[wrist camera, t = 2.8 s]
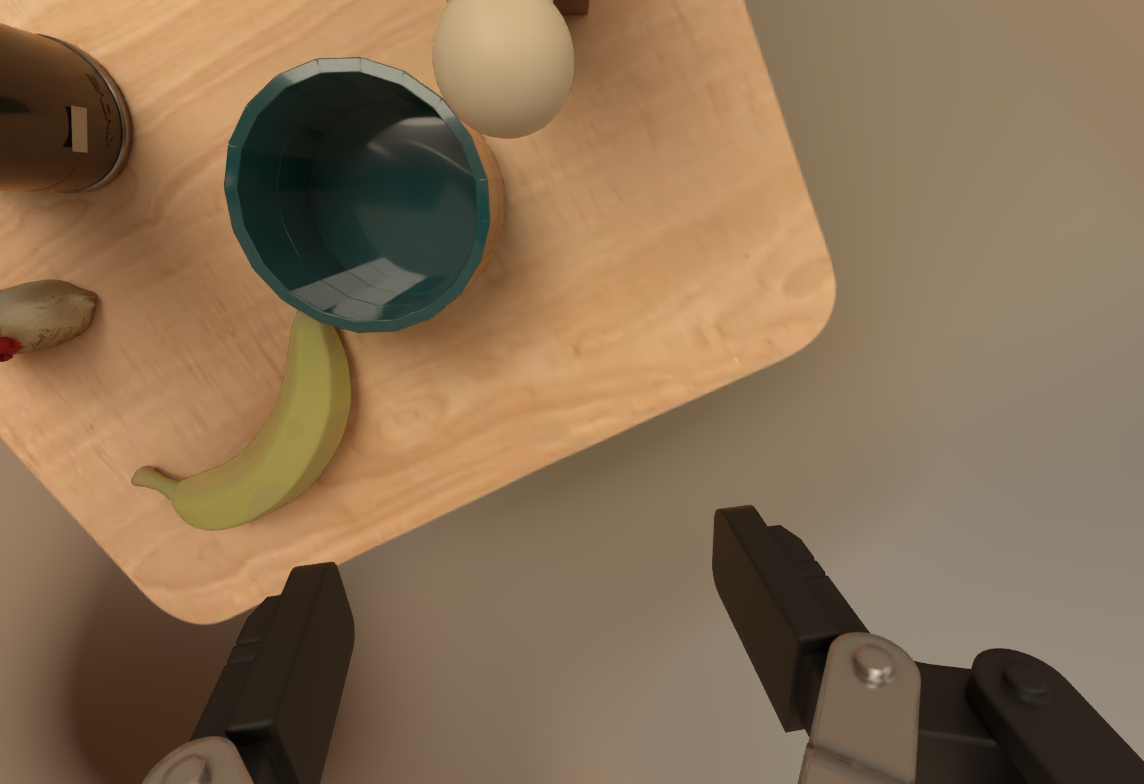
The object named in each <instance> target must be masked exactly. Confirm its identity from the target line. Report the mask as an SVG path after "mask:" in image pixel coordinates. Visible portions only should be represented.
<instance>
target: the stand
mask: <svg viewBox="0 0 1144 784" xmlns="http://www.w3.org/2000/svg"><path fill="white" fill-rule="evenodd" d="M589 1H590V0H553V4H554V5H555V6H556V7H557V9H558V10H559V12H560V13H561V15H577V14H587V13H588V8H589Z"/></svg>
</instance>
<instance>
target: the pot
mask: <svg viewBox="0 0 1144 784" xmlns="http://www.w3.org/2000/svg"><path fill="white" fill-rule="evenodd" d="M224 187H225V188H224V190H225V195H226V200H227V205H228V210H229V214H230V219H231V224H232V229H233V232H234V234H235V236H236V237H237V239H238V241H239V243H240V245H241V247H242V249H243V251H244V253H245V255H246V256H247V258H248V260H249V262H250V264H251V266H252V268H253V269H254V271H255V272H256V273H257V274H258V275H259V276H260V277H261V278H262V279H263V280H264V281H265V282H266V283H267V284H268V285H269V286H270V287H271V289H272V290H273V291H274V292H275V293H276V294H277V295H278V296H279V297H280V298H281V299H282V300H284V301H285V302H286V303H288V304H290V305H291V306H293V307H294V308H296V309H298V310H299V311H301V312H303V313H304V314H306V315H308V316H309V317H311V318H313V319H314V320H316V321H318V322H320V323H324V324H327V325H331V326H335V327H338V328H342V329H346V330H350V331H353V332H358V333H366V332H394V331H398V330H401V329H404V328H407V327H409V326H412V325H415V324H417V323H420V322H423V321H426V320H428V319H431V318H432V317H434V316H435V315H436V314H437V313H439V312H440V311H441V310H442V309H444V308H445V307H446V306H447V305H449V304H450V303H451V302H452V301H453V300H455V299H456V298H457V297H458V296H460V295H461V294H462V293H463V292H464V291H465V289H466V288H467V287H468V286H469V285H470V284H471V283H472V282H473V281H474V280H475V279H476V278H477V277H478V276H479V275H480V274H481V273H482V272H483V270H484V268H485V267H486V265H487V264H488V262H489V261H490V259H491V257H492V256H493V254H494V252H495V251H496V249H497V247H498V244H499V240H500V238H501V234H502V230H503V226H504V220H505V215H506V214H505V193H504V183H503V179H502V176H501V173H500V170H499V167H498V164H497V162H496V159H495V157H494V155H493V152H492V150H491V148H490V146H489V145H488V144H487V142H486V141H485V140H484V138H483V137H482V136H481V134H480V133H479V132H478V131H476V130H474V129H472V128H471V127H469V126H468V125H466V124H465V123H464V122H463V121H462V120H461V119H459V118H458V116H457V115H456V114H455V113H454V112H453V111H452V109H451V108H450V107H449V105H448V104H447V102H446V101H445V100H444V99H443V98H442V97H440V96H439V95H437V94H436V93H435V92H433V91H432V90H431V89H429V88H428V87H426V86H425V85H424V84H422V83H421V82H419V81H418V80H417V79H415V78H414V77H412V76H411V75H410V74H408V73H407V72H405V71H403V70H400V69H397V68H394V67H390V66H387V65H384V64H381V63H378V62H375V61H372V60H369V59H365V58H362V57H361V58H360V57H351V58H319V59H314V60H312V61H309V62H307V63H305V64H302V65H300V66H297V67H295V68H293V69H290V70H288V71H285V72H283V73H281V74H278V75H277V76H275V77H274V78H273V79H272V80H271V81H270V82H269V83H268V84H267V85H266V86H265V87H264V88H263V89H262V90H261V91H260V92H259V93H258V94H257V95H256V96H255V97H254V98H253V99H252V100H251V101H250V102H249V103H248V104H247V106H246V107H245V109H244V111H243V113H242V115H241V117H240V120H239V122H238V124H237V126H236V128H235V130H234V132H233V135H232V137H231V139H230V141H229V145H228V152H227V162H226V172H225V181H224Z"/></svg>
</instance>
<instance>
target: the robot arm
mask: <svg viewBox="0 0 1144 784" xmlns="http://www.w3.org/2000/svg"><path fill="white" fill-rule="evenodd" d="M131 138H132V137H131V122H130V117H129V113H128V110H127V106H126V104H125V101H124V99H123V97H122V95H121V93H120V91H119V89H118V87H117V86H116V84H115V82H114V81H113V80H112V78H111V77H110V76H109V74H108V73H107V72H106V71H105V70H104V68H103V67H102V66H101V65H100V64H99V63H98V62H96V61H95V60H94V59H93V58H92V57H91V56H89V55H88V54H87V53H85V52H84V51H82V50H81V49H79V48H77V47H75V46H74V45H72V44H69V43H67V42H65V41H62V40H59V39H56V38H52V37H49V36H45V35H41V34H34V33H30V32H27V31H24V30H20V29H17V28H14V27H11V26H8V25H5V24H2V23H0V191H55V192H62V193H82V192H89V191H93V190H96V189H99V188H101V187H103V186H105V185H106V184H108V183H109V182H111V181H112V180H113V179H114V178H115V177H116V176H117V175H118V174H119V173H120V171H121V170H122V168H123V167H124V165H125V163H126V161H127V158H128V155H129V152H130V147H131ZM712 569H713V577H714V581H715V585H716V588H717V591H718V594H719V596H720V598H721V600H722V602H723V604H724V606H725V608H726V610H727V612H728V614H729V617H730V619H731V621H732V623H733V625H734V627H735V629H736V631H737V633H738V635H739V637H740V639H741V641H742V643H743V646H744V647H745V650H746V652H747V654H748V656H749V658H750V660H751V662H752V664H753V666H754V668H755V670H756V672H757V674H758V677H759V679H760V681H761V683H762V685H763V687H764V689H765V691H766V693H767V695H768V697H769V699H770V701H771V703H772V706H773V708H774V709H775V712H776V714H777V716H778V718H779V720H780V722H781V724H782V726H783V728H784V730H785V732H791V731H797V730H802V729H805V730H806V732H807V734H808V736H809V742H808V743H807V746H806V749H805V754H804V758H803V763H802V767H801V771H800V776H799V780H798V784H1144V761H1143V760H1142V759H1141V758H1140V757H1139V756H1138V755H1137V754H1136V753H1135V752H1134V751H1133V750H1132V749H1131V747H1130V746H1129V745H1128V744H1127V743H1126V742H1125V741H1124V740H1123V739H1122V738H1121V737H1120V736H1119V735H1118V734H1117V733H1116V731H1114V729H1113V728H1112V727H1111V726H1110V725H1109V724H1108V723H1107V722H1106V721H1105V720H1104V719H1103V718H1102V717H1101V716H1100V715H1099V714H1098V713H1097V711H1096V710H1095V709H1094V708H1093V707H1092V706H1091V705H1090V704H1089V703H1088V702H1087V701H1086V700H1085V699H1084V698H1083V697H1082V696H1081V694H1080V693H1079V692H1078V691H1077V690H1076V689H1075V688H1074V687H1073V686H1072V685H1071V684H1070V683H1069V682H1068V681H1067V680H1066V679H1065V678H1064V677H1063V676H1062V675H1061V674H1060V673H1059V672H1058V671H1056V670H1055V669H1054V668H1052V667H1051V666H1049V665H1047V664H1046V663H1044V662H1043V661H1041V660H1039V659H1037V658H1035V657H1033V656H1030V655H1028V654H1025V653H1022V652H1019V651H1014V650H1010V649H1002V648H1000V649H999V648H997V649H989V650H985V651H983V652H981V653H980V654H978V655H977V656H976V658H975V659H974V662H973V665H972V668H971V669H965V668H957V667H949V666H941V665H931V664H926V663H920V662H916V661H913V659H912V658H911V657H910V656H909V655H908V654H907V653H906V652H905V651H904V650H903V649H902V648H901V647H899V646H898V645H896V644H895V643H893V642H892V641H890V640H888V639H886V638H883V637H880V636H878V635H874V634H871V633H870V632H869V631H868V630H867V628H866V627H865V626H864V624H863V623H862V622H861V620H860V619H859V618H858V616H857V615H856V614H855V612H854V611H853V609H852V608H851V607H850V605H849V604H848V603H847V601H846V600H845V599H844V597H843V596H842V595H841V593H840V592H839V591H838V589H837V588H836V586H835V585H834V584H833V582H832V581H831V580H830V578H829V577H828V576H826V575H825V571H824V570H823V569H822V567H821V566H820V565H819V563H818V562H817V561H815V560H814V557H813V555H812V554H811V552H810V551H809V550H808V548H807V547H806V546H805V544H804V543H803V542H802V540H801V539H800V538H798V537H797V536H795V535H794V534H793V533H791V532H790V531H788V530H787V529H785V528H784V527H782V526H781V525H775V526H769V527H767V525H766V524H765V522H764V521H763V519H762V518H761V516H760V515H759V513H758V512H757V510H756V509H755V508H754V507H753V506H752V505H744V506H737V507H729V508H722V509H717V510H716V512H715V516H714V535H713V557H712ZM354 634H355V631H354V620H353V616H352V612H351V609H350V606H349V602H348V599H347V596H346V593H345V590H344V586H343V583H342V580H341V577H340V574H339V570H338V568H337V565H336V564H335V563H334V562H326V563H319V564H312V565H305V566H298V567H294V568H293V569H292V571H291V572H290V575H289V577H288V579H287V582H286V584H285V587H284V589H283V591H282V594H281V595H278V596H271V597H267V598H266V599H265V600H264V601H263V602H262V603H261V604H260V605H259V606H258V607H257V608H256V610H255V611H254V612H253V613H252V614H251V615H250V616H249V617H248V618H247V620H246V622H245V624H244V626H243V628H242V630H241V632H240V634H239V637H238V639H237V641H236V646H234V647H233V649H232V652H231V654H230V656H229V658H228V660H227V666H224V669H223V671H222V673H221V675H220V677H219V680H218V682H217V684H216V686H215V688H214V690H213V692H212V694H211V696H210V698H209V701H208V703H207V705H206V707H205V709H204V711H203V713H202V716H201V718H200V720H199V722H198V724H197V726H196V728H195V731H194V733H193V735H192V737H191V739H190V741H189V743H187V744H184V745H182V746H181V747H179V748H177V749H176V750H174V751H173V752H171V753H170V754H168V755H167V756H166V757H165V758H163V759H162V760H161V761H160V762H159V763H158V764H157V765H156V766H155V767H154V768H153V769H152V770H151V771H150V773H149V774H148V775H147V776H146V778H145V779H144V781H143V782H142V784H320V782H321V778H322V773H323V769H324V765H325V761H326V757H327V753H328V749H329V745H330V741H331V737H332V733H333V729H334V724H335V720H336V716H337V712H338V708H339V704H340V700H341V696H342V692H343V688H344V684H345V679H346V676H347V671H348V667H349V663H350V659H351V655H352V651H353V646H354Z"/></svg>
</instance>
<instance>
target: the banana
mask: <svg viewBox="0 0 1144 784" xmlns="http://www.w3.org/2000/svg"><path fill="white" fill-rule="evenodd" d="M350 406H351V384H350V373H349V366H348V361H347V357H346V354H345V351H344V348H343V346H342V343H341V341H340V338H339V336H338V334H337V331H336V329H335V327H334V326H331V325H327V324H324V323H320V322H318V321H316V320H314V319H313V318H311V317H309V316H308V315H306V314H304V313H303V312H301V311H299V310H298V311H297V314H296V316H295V319H294V321H293V324H292V327H291V331H290V337H289V345H288V353H287V360H286V367H285V373H284V378H283V382H282V385H281V389H280V392H279V395H278V398H277V402H276V404H275V407H274V409H273V411H272V413H271V415H270V417H269V419H268V421H267V423H266V424H265V426H264V427H263V429H262V430H261V431H260V433H259V434H258V435H257V436H256V438H255V439H254V440H253V441H252V443H251V444H250V445H249V446H248V447H247V448H246V449H245V450H244V451H242V452H241V453H240V454H238V455H237V456H236V457H234V458H233V459H231V460H230V461H228V462H227V463H225V464H223V465H220V466H218V467H215V468H212V469H210V470H207V471H204V472H202V473H199V474H197V475H194V476H192V477H189V478H186V479H183V480H181V481H178V480H173V479H169V478H166V477H164V476H163V475H161V474H160V473H158V472H157V471H156V470H155V469H153V468H152V467H151V466H145V467H142V468H140V469H139V470H138V471H137V472H136V473H135V474H134V475H133V477H132V480H131V481H132V485H134V486H142V487H148V488H152V489H155V490H157V491H159V492H161V493H162V494H164V495H165V496H166V497H167V498H168V499H169V500H170V501H171V502H172V505H173V507H174V508H175V510H176V512H177V513H178V515H179V516H180V517H181V518H182V519H183V520H184V521H185V522H186V523H187V524H189V525H191V526H193V527H195V528H199V529H203V530H210V531H215V530H224V529H228V528H232V527H236V526H239V525H242V524H245V523H248V522H250V521H253V520H255V519H257V518H260V517H262V516H264V515H266V514H268V513H270V512H272V511H274V510H276V509H278V508H280V507H282V506H283V505H285V504H287V503H288V502H290V501H291V500H293V499H294V498H296V497H297V496H298V495H300V494H301V493H302V492H304V491H305V490H306V489H307V488H308V487H309V486H310V485H311V484H312V483H313V482H314V481H315V480H316V479H317V477H318V476H319V475H320V474H321V473H322V471H323V470H324V469H325V467H326V466H327V464H328V463H329V462H330V460H331V458H332V457H333V455H334V453H335V452H336V450H337V448H338V446H339V444H340V442H341V439H342V437H343V434H344V431H345V428H346V424H347V421H348V416H349V412H350Z"/></svg>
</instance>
